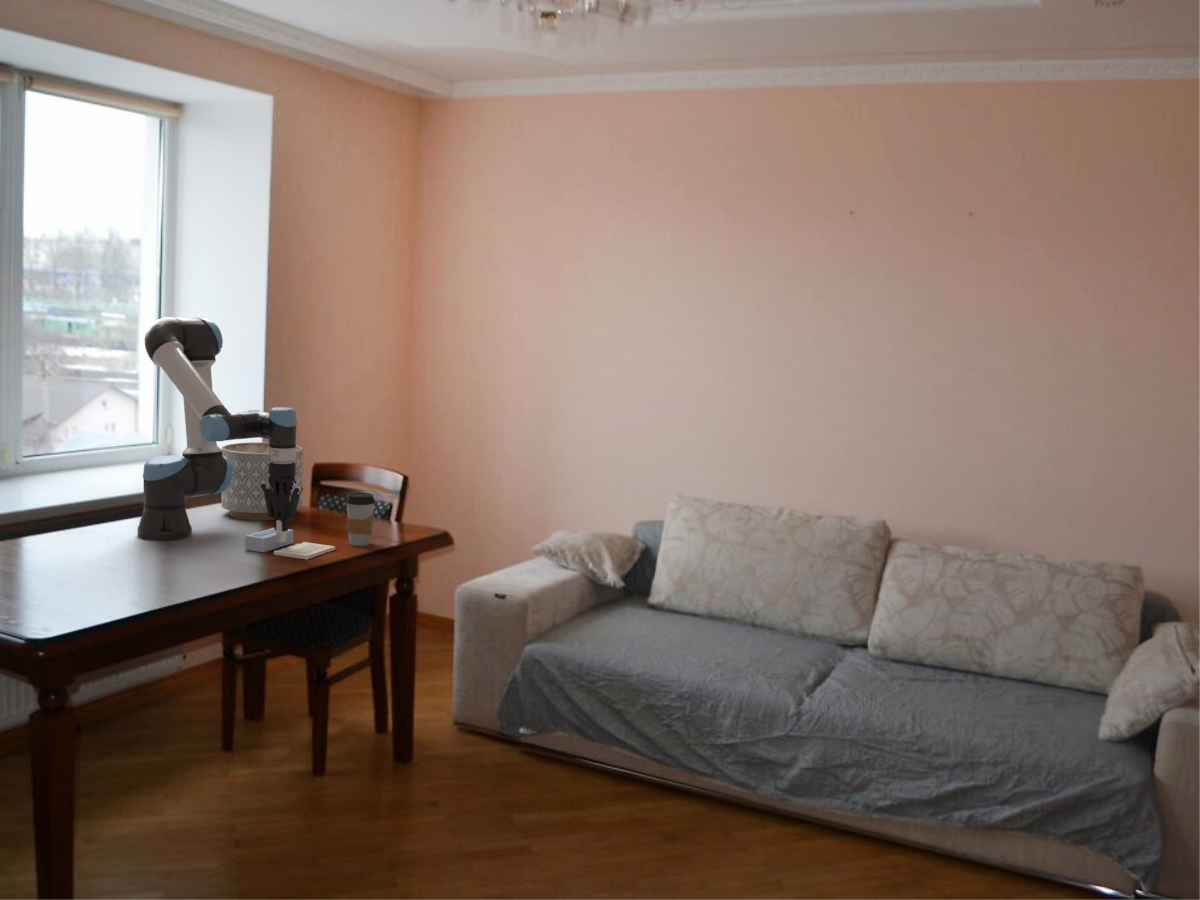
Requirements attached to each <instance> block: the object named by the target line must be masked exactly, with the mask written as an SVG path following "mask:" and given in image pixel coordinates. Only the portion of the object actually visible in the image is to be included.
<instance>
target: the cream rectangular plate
mask: <svg viewBox="0 0 1200 900" xmlns="http://www.w3.org/2000/svg"><path fill="white" fill-rule="evenodd" d="M335 550H336V546H334V545H328V544H319V543H314V542H313V543H312V542H306V541H301V542H298V543H295V544H294V543H293V544H290V545H289V546H288V545H287V546H286V547H285V546H284V547H282V548H277V549H275V550H274V551H273V555H275V556H281V557H282V556H283V557H288V558H295V559H302V560H310V559H312V558H315V557H317V556H320V555H325V554H326V552H327V553H330V552H333V551H335Z"/></svg>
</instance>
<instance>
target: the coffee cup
mask: <svg viewBox="0 0 1200 900" xmlns="http://www.w3.org/2000/svg"><path fill="white" fill-rule="evenodd" d="M375 502H376V501H375V497H374V494H373V493H369V492H351V493H348V494H347V497H346V501H345V503H346V509H347V512H346V513H347V514H346V515H347V533H348V543H349V545H350V546H353V547H366V546H370V543H371V540H372V531H373V521H374V506H375Z"/></svg>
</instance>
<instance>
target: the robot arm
mask: <svg viewBox="0 0 1200 900" xmlns="http://www.w3.org/2000/svg"><path fill="white" fill-rule="evenodd" d="M223 344H224V343H223V335H222V332H221V330H220V328H219V326H218V325H217V324H216V323H215V322H214V321H213V320H211V319H209V318H205V317H162V318H159V319H157V320H154V321H153V323H151V324H150V326H149V327H148V329H146V332H145V337H144V347H145V351H146V353H147V355H148V357H149V359H150V360H151V361H152V363H153V365H155V366H156V367H158V368H161V369H162V370H163V372H164V373H165V374H166V376H167V377H168V379H170V381H171V382H172V383H173V385H174V386H175V387H176V389H177V390H178V391H179V393H180V394H181V395H182V397H183V399H182V400H183V406H184V407H183V409H184V423H185V435H186V448H185V449H184V450H183V451H182V455H180V454H179V455H178V454H170V455H161V456H156V457H153V458H150V459H148V460H147V461H146V462H145V463H144V465H143V474H142V479H143V511H142V515H141V518H140V521H139V524H138V526H137V537H138V538H140V539H144V540H150V541H173V540H175V541H176V540H181V539H186V538H188V537H191V536H192V534H193V533H192V532H193V531H192V530H193V529H192V525H191V523H190V519H189V516H188V512H187V510H186V507H187V506H186V499H187V498H196V497H202V496H212V495H215V494H220V493H222V492H223V491H224V490H225V489H226V488H227V486H228V485H229V484H230V482H231V479H232V466H231V463H230V462H229V459H228V458H227V457H225V456H223V453H222V448H221V447H219V446H218V443H217V442H224V441H232V440H243V439H244V440H245V439H255V438H262V439H267V440H268V442H269V460H270V461H271V462H269V475H270V477H269V479H268V482H266V483H264V484H261V487H262V489H263V491H264V495H265V500H266V506H267V511H268V516H269V517H272V518H274V520H273V522H274V524H273V525H274V526H273V528H274V529H275V530H276V543H282V542H286V531H288V529H289V522H290V521H289V520H292V519H294V518H295V517H296V514H297V510H298V509H297V505H298V501H299V496H300V494H301V492H302V493H303V490H304V488H303V486H302V487H299V486H298V485H296V481H295V478H294V477H295V474H296V463H295V462H294V461H295V460H296V445H297V424H298V422H297V411H296V410H295V409H294V408H292V407H285V406H283V407H282V406H280V407H279V406H278V407H271V408H270V409H269V411H268V412H267V411H261V410H257V409H254V410H253V409H247V410H245V411H244V412H234V413H233V412H231V413H230V411H229V410H228V409H227V408H226V407H225V405H224V404H223V402H221V400H220V399H219V398H218V396H217V394H216V393H215V392H214V391H213V378H212V366H213V365H214V364H215V363H216V359H217V358H216V356H218V355H219V354H220V353H221V351H222V348H223ZM271 487H272V488H271ZM272 489H273V491H272ZM292 489H293V490H292ZM291 490H292V492H293V493H292V495H291ZM290 496H291V499H290Z"/></svg>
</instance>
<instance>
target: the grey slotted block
mask: <svg viewBox="0 0 1200 900" xmlns="http://www.w3.org/2000/svg"><path fill="white" fill-rule="evenodd" d="M244 538H245V539H244V550H246V551H252V552H257V553H258V552H260V553H266V552H270V551H272V550H277V549H280V548H281V547H282V548H283V547H285V546H286V547H287V546H288V545H289V546H290V545H293V544H294V529H289V528H288V531H286V542H282V543H276V530H275V529H274V527H271V528H268V529H264V530H262V531H258V532H254V533H251V534H246V535H245V536H244Z"/></svg>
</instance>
